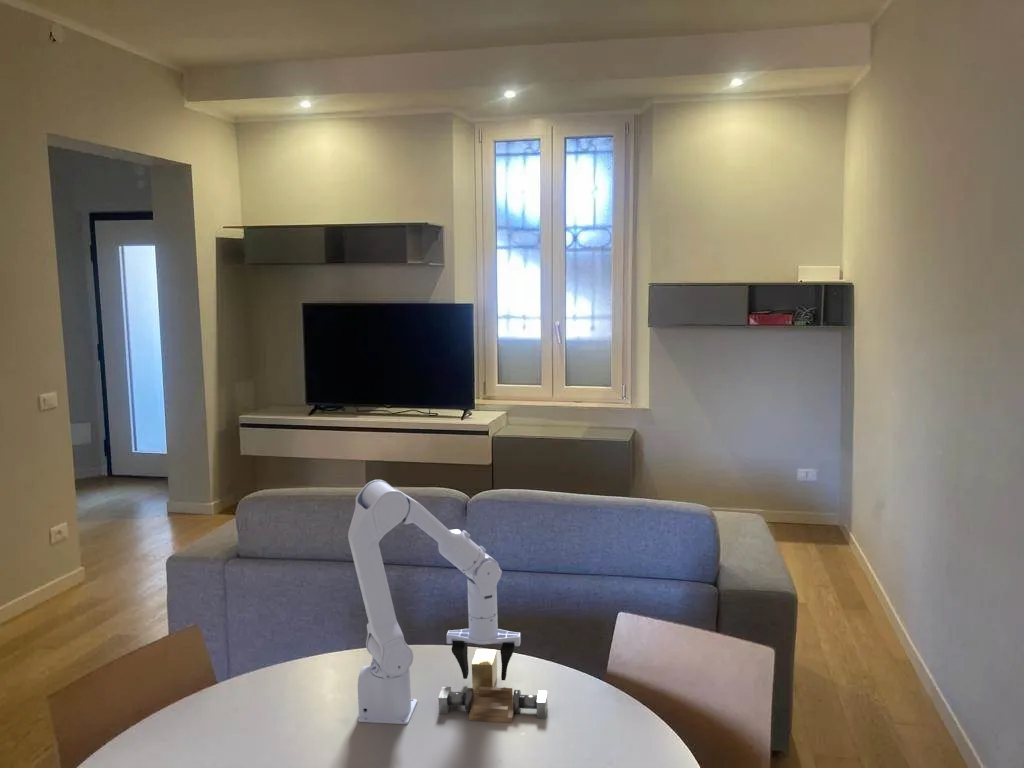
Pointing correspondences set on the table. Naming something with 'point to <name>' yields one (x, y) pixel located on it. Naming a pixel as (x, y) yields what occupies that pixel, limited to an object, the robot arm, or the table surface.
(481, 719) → the shaft stand
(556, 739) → the table surface
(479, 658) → the block
